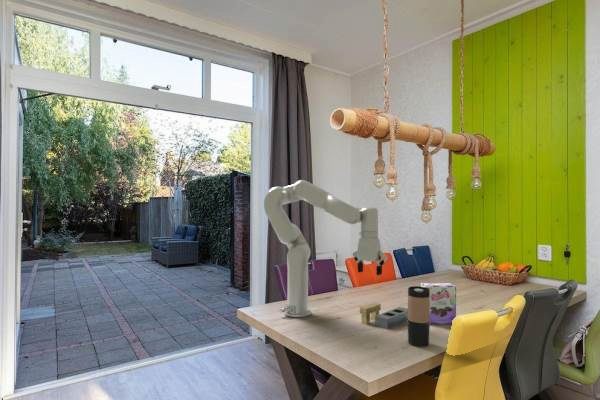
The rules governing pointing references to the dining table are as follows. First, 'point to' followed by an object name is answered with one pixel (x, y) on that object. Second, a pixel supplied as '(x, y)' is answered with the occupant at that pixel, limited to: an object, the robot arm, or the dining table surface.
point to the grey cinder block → (391, 318)
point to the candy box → (441, 302)
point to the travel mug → (418, 316)
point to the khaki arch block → (367, 310)
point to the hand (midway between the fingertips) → (369, 273)
